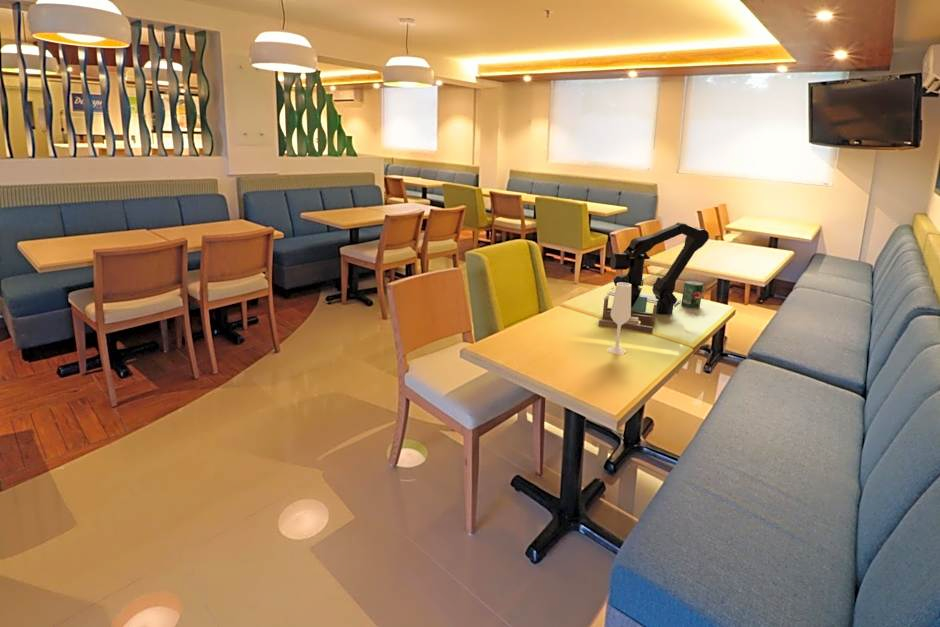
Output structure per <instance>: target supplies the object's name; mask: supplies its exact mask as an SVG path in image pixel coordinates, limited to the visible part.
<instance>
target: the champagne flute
mask: <svg viewBox="0 0 940 627" xmlns="http://www.w3.org/2000/svg"><path fill="white" fill-rule="evenodd" d="M615 289H616V290H615ZM615 289H614V290H615V295H614V296H613V301H612V305H611V308H612V309H611V314H610V315H611V318H612V320H613V321H614V322H615V323H616V324H618V326H617V328H616V335H615V336H616V337H615V345H614V346H611V347H608V348H607V349H608V351H609V352H611V353H610V354H612V353H615V354H614V355H617V354H621V355H625V354H626V353H627V351H626V350H625V349H624V348H622V347H621V346H619V345H620V339H621V325H622V324H624V323H626V322H627V321H628V320H629V319H630V317H631V284H629V283H622V282H621V283H617V285H616V286H615ZM608 351H607V352H608ZM609 352H608V353H609ZM625 352H626V353H625ZM624 353H625V354H624Z"/></svg>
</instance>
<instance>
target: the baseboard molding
mask: <svg viewBox="0 0 940 627" xmlns="http://www.w3.org/2000/svg"><path fill="white" fill-rule="evenodd" d="M615 290H616V288H614V287H612V288H611V290H610V291H609V292H607V295H606V296H613V297H614V295H615ZM640 295H641V296H648V297H647V303H650V302H652V304H654V302H655V301H656V302H657V300H658V299H656V297H655V295H654V294H651V293H645V292H641V293H640ZM680 301H681V302H682V299H677V301H676V303H675V304H674V305H673V306H675V307H677V306H678V305H679V304H680V303H681V302H680ZM679 302H680V303H679ZM678 303H679V304H678ZM677 304H678V305H677Z"/></svg>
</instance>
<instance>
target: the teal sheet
mask: <svg viewBox="0 0 940 627" xmlns="http://www.w3.org/2000/svg"><path fill="white" fill-rule="evenodd" d="M647 297H648V296H641V295H639V297H638V298H637V300H636V302H635V304H634V306H633V307H631V311H639V312H646V311H647V305H648V304H647V303H648V302H647Z"/></svg>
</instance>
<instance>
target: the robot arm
mask: <svg viewBox="0 0 940 627" xmlns="http://www.w3.org/2000/svg"><path fill="white" fill-rule="evenodd" d="M680 235H684V236H685V239H684V245H683V247H682V249H681V250H680V252H679V254H678V255H677V257H676V259H675V260H674V261H673V262H672V265H671V266H670V267H669V269H668V270H667V272H666V274H665V275H664V276H663V277H659V276H658V277H657V278H656V280H655V282H654V283H653V284H652V286H653V287H652V289H651V290H652V293H653V295H655V297H656V299H658V300H657V308H656V314H657V315H664V316H667V315H668V316H669V315H671V314H672V315H673V313H674V312H673V311H674V307H673V305H674V304H675V303H676V301H677V298H678V297H676V296H675V295H674V294H673V293H674V291H675V289H676V282H677V281H678V280H679V277H680V276H681V274H682V272H683V271H684V270H685V268H686V266H687V265H688V263H689V262H690V260H691V259H692V257H693V256H694V254H695V253H696V252H697V251H698V250H700V249H701V248H702V247H704V246H705V244H706V243H708V241H709V239H710V236H709V232H708V231H707V230H706V229H703V228H699V227H692V226H690V225H689V224H686V223H684V222H676V223H675V224H673V225H670V226H668V227H666V228H664V229H661V230H659V231H657V232H654V233H652V234H650V235H643V236H639V237H638V236H637V237H634V238H632V239H631V240H630V243H629V245H628V246H627V247H626V249H625V250H624V251H623V252H622V253H621V252H620V253H619V252H613V254H612V255H613V256H612V257H611V259H610V260H609V261H610V264H609V266H610V268H611V270H613V271H615V270H617V271H620V270H621V271H622V270H623V271H624V270H626V271H627V273H624V274H619V275H616V276H614V277H613V279H612V280H613V284H614V286H615V287H616V285H617V283H621V282H622V283H629V284H631V307H633V306H634V304H635V302H636V300H637V298H638V297H639V295H640V293H642V289H643V288H642V287H643V286H644V279H643V276H644V268H645V260H651V257H650V256H649V255H648V252H650V251H651V250H652V249H653V248H654V247H655V246H656V245H658V244H659V245H660V244H661V243H664V242H665V241H668V240H670V239H673V238H676V237H677V236H680ZM627 269H628V270H627Z"/></svg>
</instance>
